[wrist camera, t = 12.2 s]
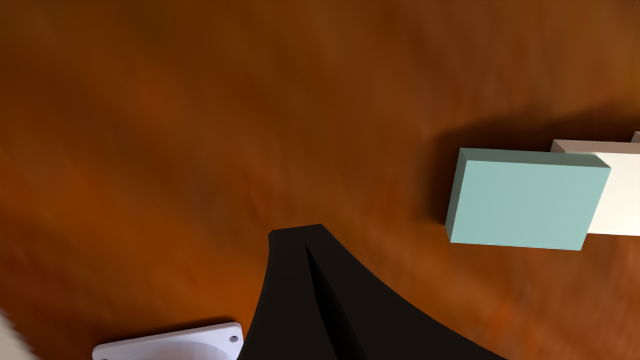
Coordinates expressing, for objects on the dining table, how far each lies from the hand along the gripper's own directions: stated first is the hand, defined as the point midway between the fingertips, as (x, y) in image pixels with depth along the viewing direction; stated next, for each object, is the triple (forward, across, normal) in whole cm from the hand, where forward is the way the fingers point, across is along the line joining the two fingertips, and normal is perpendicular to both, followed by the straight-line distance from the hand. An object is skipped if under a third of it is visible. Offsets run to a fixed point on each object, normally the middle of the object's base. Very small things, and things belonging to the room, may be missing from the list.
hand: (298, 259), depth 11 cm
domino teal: (+10, -10, +5) cm, 15 cm away
